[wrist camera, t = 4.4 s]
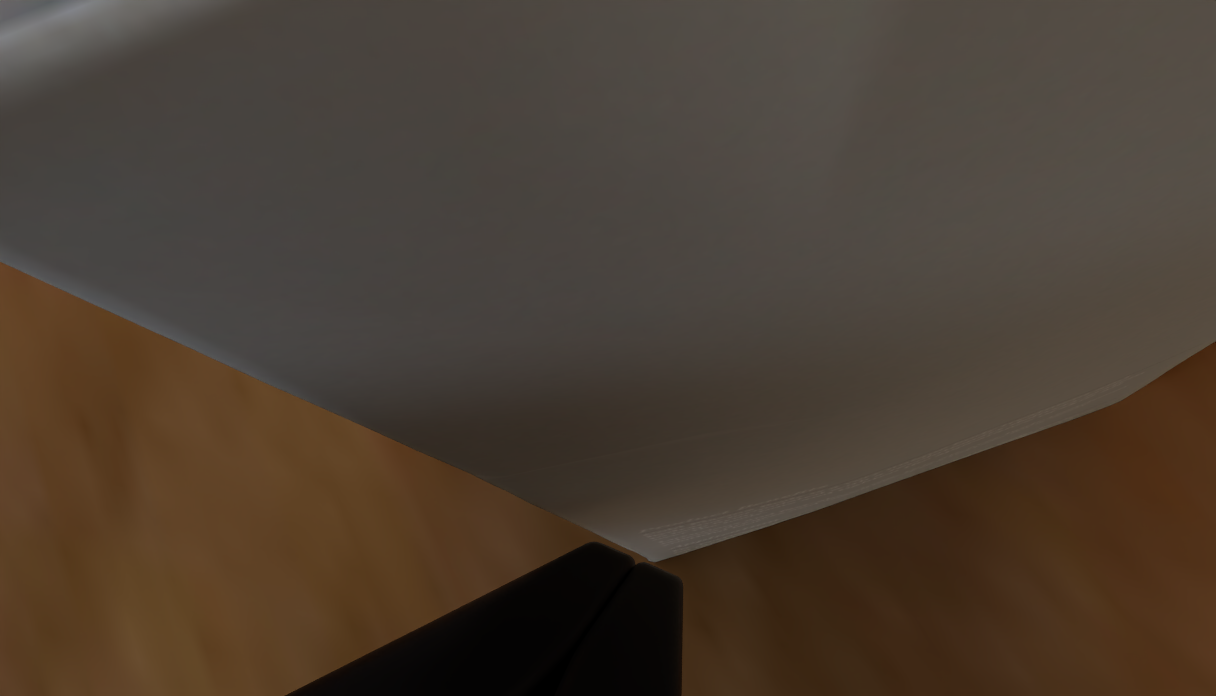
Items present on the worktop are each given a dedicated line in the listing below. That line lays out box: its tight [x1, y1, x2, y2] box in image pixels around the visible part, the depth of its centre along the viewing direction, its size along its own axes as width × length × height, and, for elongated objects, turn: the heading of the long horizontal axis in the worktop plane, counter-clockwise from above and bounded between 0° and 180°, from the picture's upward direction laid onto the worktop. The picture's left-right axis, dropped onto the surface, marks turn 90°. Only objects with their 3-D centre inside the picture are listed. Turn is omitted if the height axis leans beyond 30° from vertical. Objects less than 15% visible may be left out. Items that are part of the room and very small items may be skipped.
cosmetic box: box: [0, 0, 1216, 562], centre depth 10 cm, size 8×7×16 cm
